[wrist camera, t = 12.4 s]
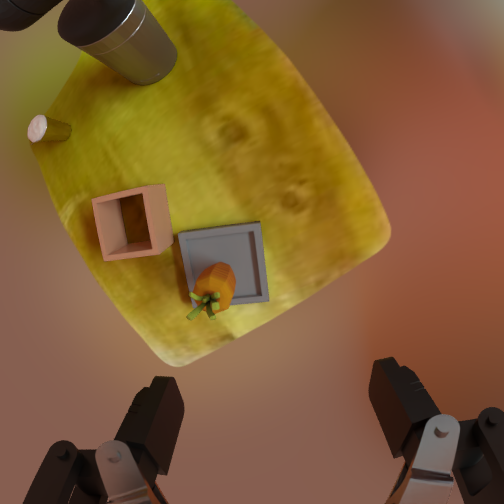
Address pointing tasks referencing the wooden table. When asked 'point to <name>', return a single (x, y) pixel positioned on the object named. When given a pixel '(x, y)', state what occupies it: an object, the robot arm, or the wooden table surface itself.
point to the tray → (228, 258)
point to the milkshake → (48, 129)
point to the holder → (114, 230)
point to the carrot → (213, 290)
